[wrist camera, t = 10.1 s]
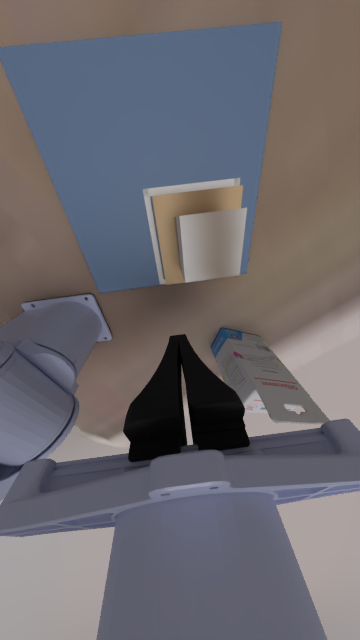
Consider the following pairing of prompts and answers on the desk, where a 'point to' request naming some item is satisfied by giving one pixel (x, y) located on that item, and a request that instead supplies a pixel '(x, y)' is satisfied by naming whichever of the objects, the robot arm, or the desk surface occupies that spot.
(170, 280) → the base slab
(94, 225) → the board
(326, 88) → the desk surface
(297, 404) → the ink box
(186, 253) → the top block
